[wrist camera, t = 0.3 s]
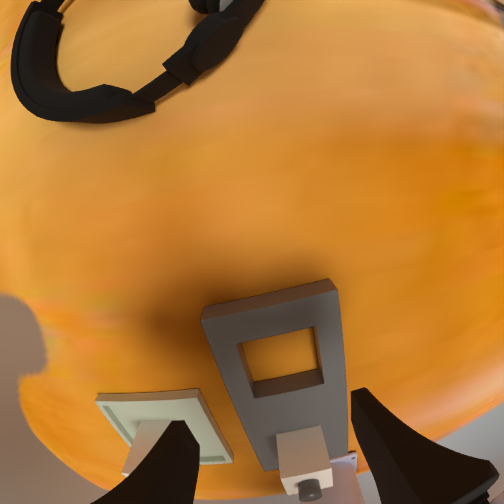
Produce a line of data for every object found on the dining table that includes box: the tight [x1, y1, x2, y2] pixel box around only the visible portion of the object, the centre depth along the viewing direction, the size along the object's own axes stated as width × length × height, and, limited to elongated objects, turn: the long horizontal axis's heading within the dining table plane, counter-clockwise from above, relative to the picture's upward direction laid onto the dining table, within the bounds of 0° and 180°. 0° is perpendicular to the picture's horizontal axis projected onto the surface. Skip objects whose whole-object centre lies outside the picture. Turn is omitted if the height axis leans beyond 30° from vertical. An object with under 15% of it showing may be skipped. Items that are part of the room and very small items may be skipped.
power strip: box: [200, 279, 348, 502], centre depth 18 cm, size 20×9×9 cm, turn 13°
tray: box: [95, 388, 234, 465], centre depth 23 cm, size 11×11×1 cm
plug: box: [122, 420, 172, 477], centre depth 19 cm, size 4×4×9 cm
